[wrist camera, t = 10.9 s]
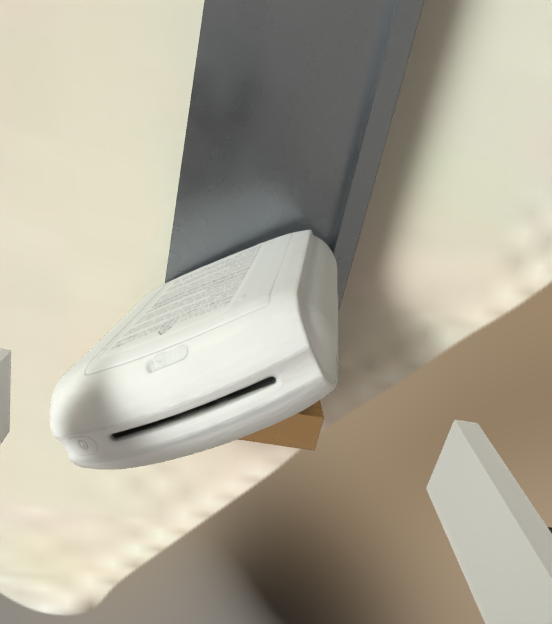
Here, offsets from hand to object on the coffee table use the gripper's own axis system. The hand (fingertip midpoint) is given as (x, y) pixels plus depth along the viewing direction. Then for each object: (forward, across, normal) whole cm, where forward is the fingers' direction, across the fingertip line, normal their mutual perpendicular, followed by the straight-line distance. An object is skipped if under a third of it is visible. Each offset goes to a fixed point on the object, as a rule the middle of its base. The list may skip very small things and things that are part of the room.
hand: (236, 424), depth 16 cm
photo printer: (+12, 0, -1) cm, 13 cm away
